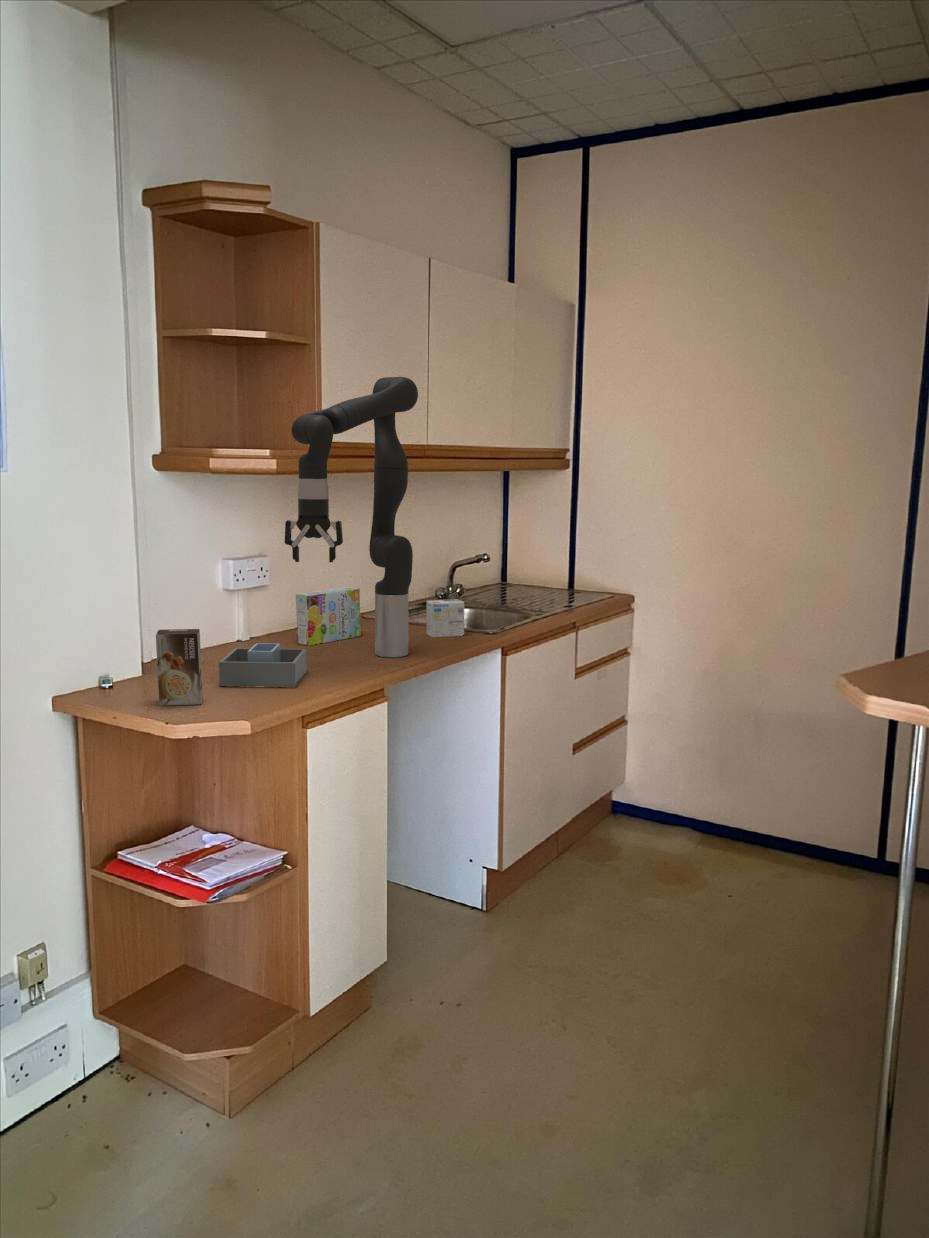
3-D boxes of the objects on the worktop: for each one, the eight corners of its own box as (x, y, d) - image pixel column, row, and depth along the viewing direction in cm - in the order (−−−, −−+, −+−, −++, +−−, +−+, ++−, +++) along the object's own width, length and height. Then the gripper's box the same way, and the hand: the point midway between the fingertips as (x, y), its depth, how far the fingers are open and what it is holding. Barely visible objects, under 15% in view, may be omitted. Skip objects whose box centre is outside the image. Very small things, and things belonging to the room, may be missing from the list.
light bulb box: (457, 632, 307) (458, 598, 305) (465, 636, 301) (465, 601, 299) (425, 634, 303) (425, 599, 302) (432, 638, 297) (432, 603, 295)
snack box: (348, 634, 301) (348, 586, 299) (361, 636, 298) (361, 587, 295) (295, 644, 285) (295, 593, 282) (308, 646, 281) (308, 595, 279)
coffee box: (203, 697, 221) (201, 628, 218) (201, 705, 215) (198, 633, 212) (161, 699, 219) (159, 628, 217) (157, 706, 213) (155, 634, 211)
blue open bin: (256, 670, 245) (256, 643, 243) (280, 670, 245) (280, 643, 244) (248, 679, 235) (247, 651, 234) (273, 680, 235) (272, 651, 234)
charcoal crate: (235, 671, 248) (235, 648, 247) (306, 672, 248) (306, 649, 247) (219, 686, 231) (218, 662, 230) (295, 687, 232) (295, 663, 231)
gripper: (343, 496, 246) (344, 560, 249) (287, 496, 246) (288, 560, 249) (340, 498, 239) (340, 564, 242) (281, 497, 239) (283, 563, 241)
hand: (314, 562), depth 245 cm, fingers open, 8 cm apart
